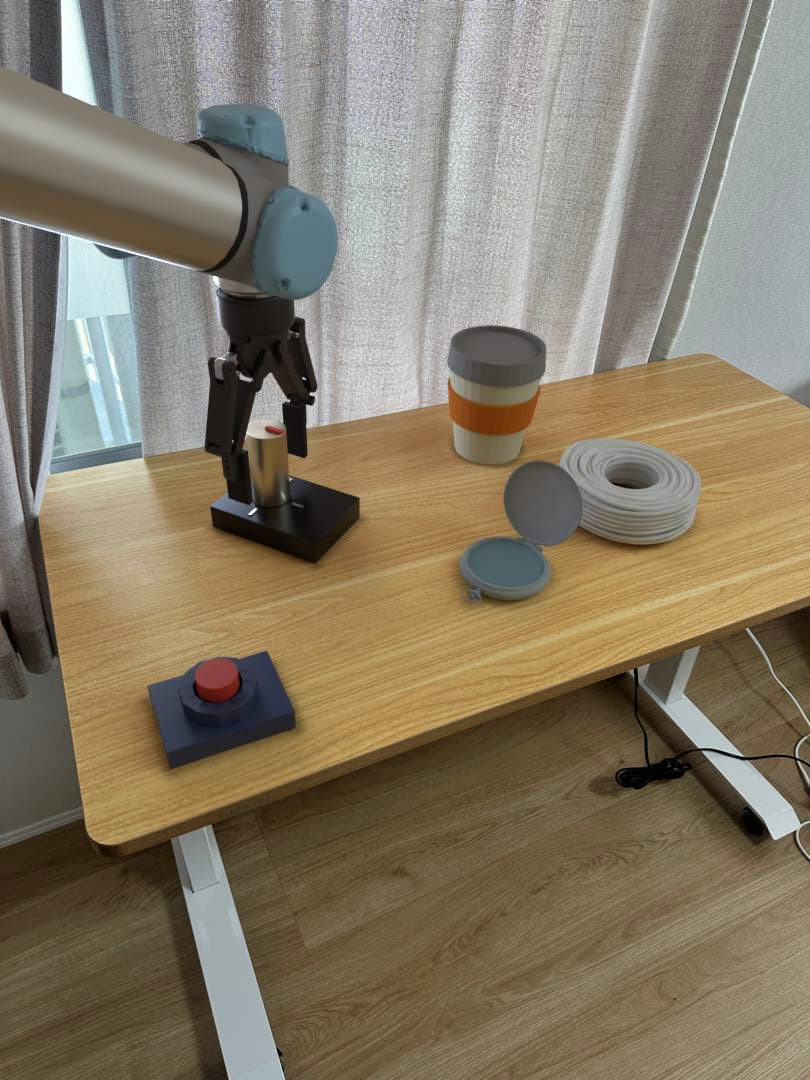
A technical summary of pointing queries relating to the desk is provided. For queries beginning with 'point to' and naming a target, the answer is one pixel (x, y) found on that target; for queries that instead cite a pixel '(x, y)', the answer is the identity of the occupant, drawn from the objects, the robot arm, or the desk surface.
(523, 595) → the pocket watch
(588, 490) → the cable
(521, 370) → the reusable coffee cup
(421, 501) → the desk surface
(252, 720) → the button block
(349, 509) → the black dial base
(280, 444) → the lock knob
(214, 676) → the red button
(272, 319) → the robot arm
